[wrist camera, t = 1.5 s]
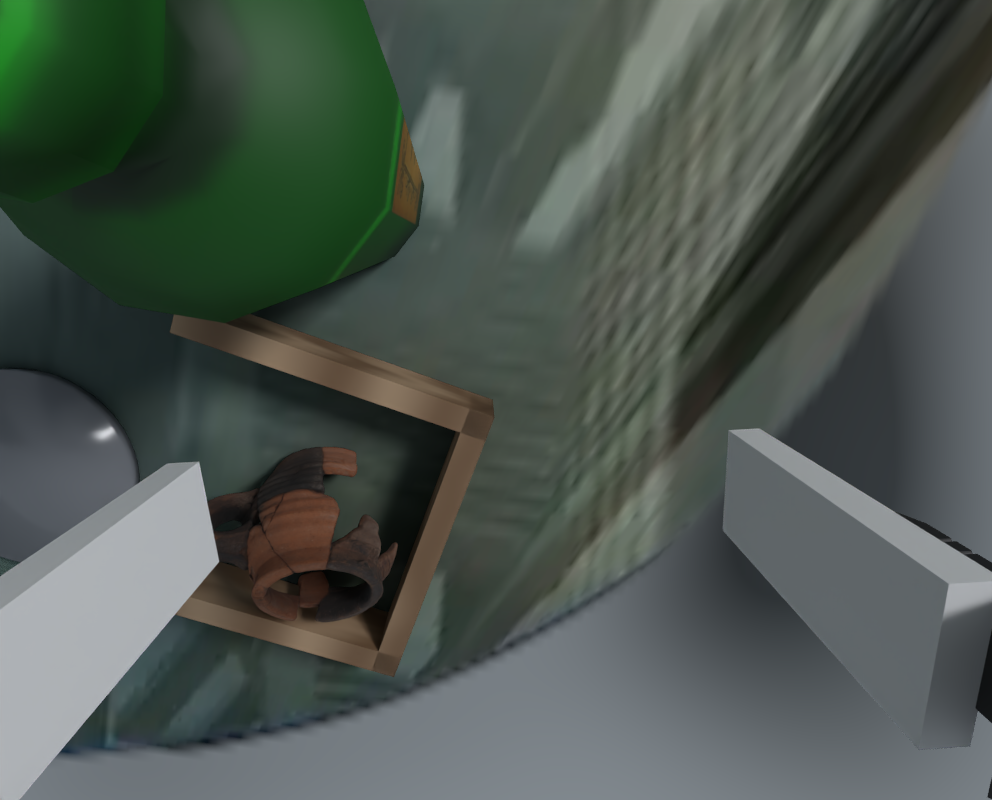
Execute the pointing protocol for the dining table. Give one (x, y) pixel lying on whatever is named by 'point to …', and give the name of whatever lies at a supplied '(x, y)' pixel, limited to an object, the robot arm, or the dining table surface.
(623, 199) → the dining table surface
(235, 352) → the brown wooden u-shaped piece
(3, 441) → the coaster
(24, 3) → the bottle
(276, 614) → the pottery mug
